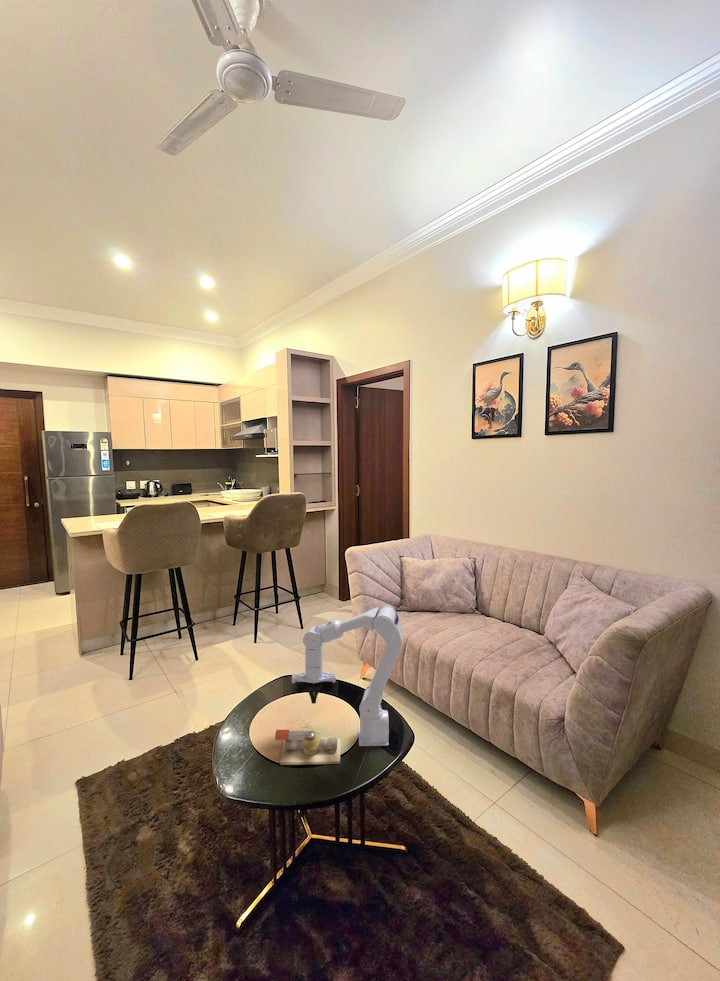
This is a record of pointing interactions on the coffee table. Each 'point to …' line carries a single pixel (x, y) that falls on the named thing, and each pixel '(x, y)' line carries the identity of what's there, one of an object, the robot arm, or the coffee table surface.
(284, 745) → the valve fixture
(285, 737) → the valve lever
